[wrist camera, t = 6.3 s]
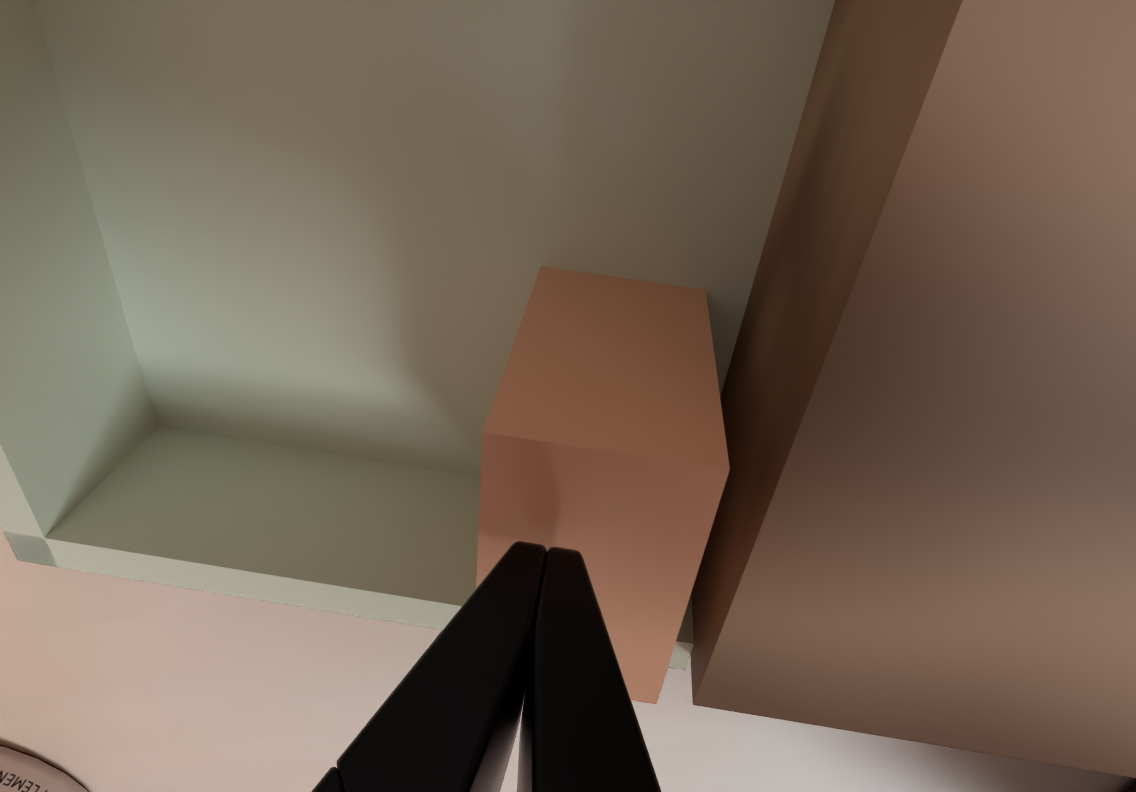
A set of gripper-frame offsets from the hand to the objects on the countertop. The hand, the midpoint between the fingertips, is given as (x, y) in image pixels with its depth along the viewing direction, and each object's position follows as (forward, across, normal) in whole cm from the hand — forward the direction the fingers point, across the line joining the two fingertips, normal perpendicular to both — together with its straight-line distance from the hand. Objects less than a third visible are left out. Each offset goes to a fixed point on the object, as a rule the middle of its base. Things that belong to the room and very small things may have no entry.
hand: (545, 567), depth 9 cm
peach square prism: (+3, -2, +1) cm, 4 cm away
